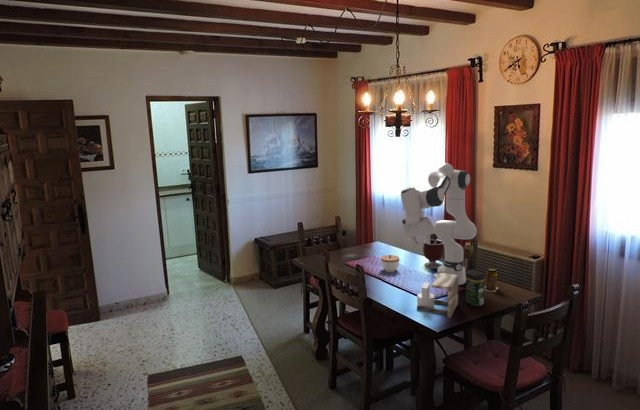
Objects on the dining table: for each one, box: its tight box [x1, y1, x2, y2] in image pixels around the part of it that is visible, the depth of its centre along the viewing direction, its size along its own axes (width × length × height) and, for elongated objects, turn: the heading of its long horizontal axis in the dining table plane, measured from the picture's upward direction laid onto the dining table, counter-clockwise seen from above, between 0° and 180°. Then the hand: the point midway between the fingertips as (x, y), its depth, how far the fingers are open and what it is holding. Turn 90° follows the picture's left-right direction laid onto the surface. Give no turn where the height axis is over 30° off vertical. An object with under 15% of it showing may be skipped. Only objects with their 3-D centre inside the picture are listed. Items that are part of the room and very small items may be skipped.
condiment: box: [483, 268, 499, 293], centre depth 261 cm, size 7×8×12 cm
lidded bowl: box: [380, 254, 400, 273], centre depth 300 cm, size 13×13×11 cm
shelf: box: [416, 273, 459, 319], centre depth 236 cm, size 18×20×16 cm
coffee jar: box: [464, 269, 486, 307], centre depth 240 cm, size 10×8×19 cm
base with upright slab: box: [416, 281, 435, 308], centre depth 240 cm, size 9×9×12 cm
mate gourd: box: [422, 239, 445, 269], centre depth 306 cm, size 16×14×20 cm
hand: (422, 244), depth 226 cm, fingers open, 8 cm apart
